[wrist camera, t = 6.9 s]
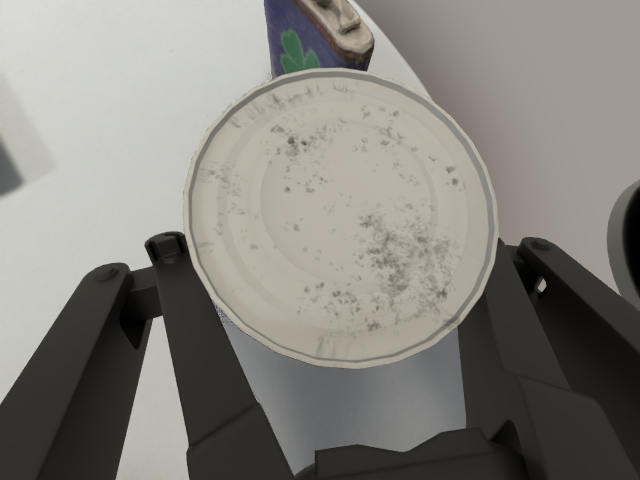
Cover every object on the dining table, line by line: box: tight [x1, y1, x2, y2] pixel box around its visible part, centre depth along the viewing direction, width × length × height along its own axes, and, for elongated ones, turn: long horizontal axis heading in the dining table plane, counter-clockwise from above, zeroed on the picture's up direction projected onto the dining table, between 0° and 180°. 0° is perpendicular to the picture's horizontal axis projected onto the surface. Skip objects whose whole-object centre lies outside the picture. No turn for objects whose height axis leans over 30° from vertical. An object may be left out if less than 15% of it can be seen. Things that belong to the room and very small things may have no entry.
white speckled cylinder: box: [183, 68, 499, 369], centre depth 13 cm, size 10×10×12 cm
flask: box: [264, 0, 374, 79], centre depth 17 cm, size 9×3×11 cm, turn 40°
